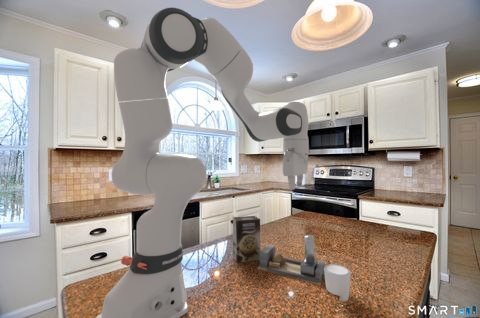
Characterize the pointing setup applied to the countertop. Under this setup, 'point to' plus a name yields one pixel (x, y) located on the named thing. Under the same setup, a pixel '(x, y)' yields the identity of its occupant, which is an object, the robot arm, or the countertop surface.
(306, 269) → the ram
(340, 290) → the shot glass
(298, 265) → the grey holder tray
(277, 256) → the walnut
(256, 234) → the coffee box
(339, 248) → the countertop surface
